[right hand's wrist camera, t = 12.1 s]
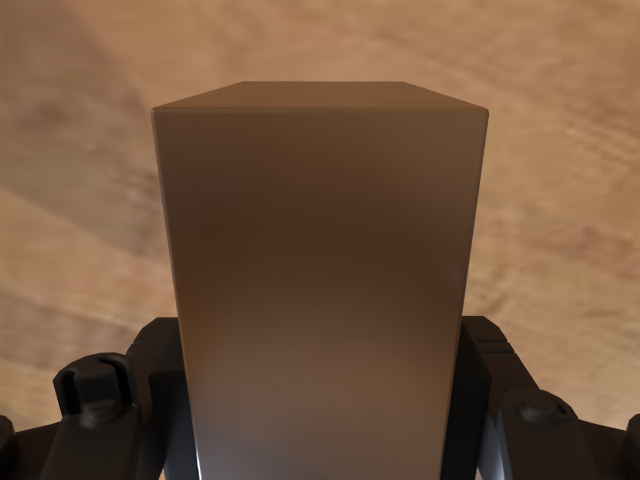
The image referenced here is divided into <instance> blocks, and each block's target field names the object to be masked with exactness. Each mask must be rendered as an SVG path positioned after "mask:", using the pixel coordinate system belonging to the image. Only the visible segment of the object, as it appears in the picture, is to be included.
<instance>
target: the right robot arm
mask: <svg viewBox="0 0 640 480" xmlns="http://www.w3.org/2000/svg"><path fill="white" fill-rule="evenodd" d="M53 384H54V388H55V392H56V395H57V399H58V403H59V406H60V410H61V414H62V420H61V421H60V422H57V423H53V424H50V425H46V426H42V427H37V428H33V429H28V430H24V431H20V432H15V430H14V427H13V424H12V422H11V421H10V420H9V419H8V418H7V417H5V416H1V415H0V480H159V477H160V475H161V472H162V469H163V468H164V474H165V479H166V480H200V477H199V470H198V462H197V455H196V447H195V440H194V433H193V425H192V418H191V410H190V403H189V395H188V388H187V380H186V373H185V366H184V358H183V351H182V343H181V336H180V328H179V321H178V317H157V318H156V319H154V320H153V321H152V322H150V323H149V324H148V325H146V326H145V327H143V328H142V329H141V331H140V332H139V334H138V335H137V337H136V338H135V340H134V343H133V344H131V346H130V348H129V349H128V351H127V352H126V355H123V354H119V353H115V352H111V353H98V354H93V355H89V356H85V357H83V358H81V359H78V360H76V361H74V362H71V363H70V364H69V365H67V366H66V367H64V368H63V369H62V370H60V371H59V372H58V374H57V375H56V376H55V378H54V379H53ZM477 466H478V469H479V471H480V474H481V476H482V479H483V480H640V414H636V415H635V416H634V417H632V418H631V419H630V420H629V423H628V426H627V429H626V431H625V430H620V429H616V428H611V427H607V426H603V425H598V424H594V423H590V422H587V421H583V420H580V419H578V417H577V415H576V414H575V412H574V411H573V409H572V408H571V406H569V405H568V404H567V403H566V402H564V401H563V400H562V399H561V398H559V397H557V396H555V395H553V394H551V393H549V392H547V391H544V390H540V389H539V387H538V386H537V384H536V383H535V381H534V380H533V378H532V377H531V375H530V374H529V372H528V371H527V369H526V368H525V366H524V365H523V363H522V362H521V360H520V358H519V357H518V355H517V354H516V353H514V349H513V348H512V346H511V345H510V343H508V342H507V339H506V337H505V336H504V334H503V333H502V331H501V330H500V328H499V327H498V326H497V325H495V324H494V323H492V322H491V321H490V320H488V319H487V318H485V317H484V316H462V319H461V327H460V334H459V342H458V349H457V357H456V364H455V372H454V379H453V386H452V394H451V401H450V409H449V416H448V424H447V431H446V439H445V446H444V453H443V461H442V468H441V476H440V480H475V476H476V470H477Z"/></svg>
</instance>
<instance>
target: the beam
mask: <svg viewBox="0 0 640 480" xmlns="http://www.w3.org/2000/svg"><path fill="white" fill-rule="evenodd" d="M488 118H489V112H488V109H486V108H484V107H481V106H478V105H475V104H471V103H468V102H465V101H462V100H459V99H456V98H453V97H450V96H446V95H443V94H440V93H437V92H434V91H431V90H428V89H425V88H421V87H418V86H415V85H412V84H409V83H406V82H240V83H237V84H233V85H230V86H226V87H223V88H219V89H216V90H212V91H209V92H206V93H202V94H199V95H195V96H192V97H188V98H185V99H182V100H178V101H175V102H171V103H168V104H164V105H161V106H157V107H155V108H152V110H151V120H152V127H153V135H154V142H155V150H156V157H157V165H158V172H159V179H160V187H161V194H162V202H163V209H164V217H165V224H166V232H167V239H168V246H169V254H170V261H171V269H172V276H173V284H174V291H175V299H176V306H177V313H178V321H179V328H180V336H181V343H182V351H183V358H184V366H185V373H186V380H187V388H188V395H189V403H190V410H191V418H192V425H193V433H194V440H195V447H196V455H197V462H198V470H199V477H200V480H440V476H441V468H442V461H443V453H444V446H445V439H446V431H447V424H448V416H449V409H450V401H451V394H452V386H453V379H454V372H455V364H456V357H457V349H458V342H459V334H460V327H461V319H462V312H463V304H464V297H465V290H466V282H467V275H468V267H469V260H470V252H471V245H472V237H473V230H474V222H475V215H476V208H477V200H478V193H479V185H480V178H481V170H482V163H483V155H484V148H485V141H486V133H487V126H488Z"/></svg>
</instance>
